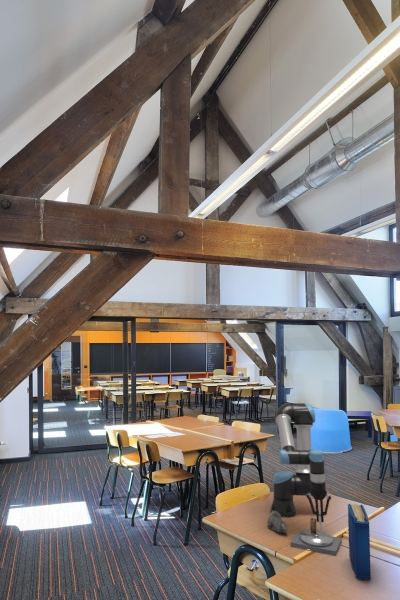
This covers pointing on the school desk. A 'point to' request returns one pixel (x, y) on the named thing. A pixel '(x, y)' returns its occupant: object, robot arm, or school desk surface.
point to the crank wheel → (316, 536)
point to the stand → (329, 549)
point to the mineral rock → (277, 522)
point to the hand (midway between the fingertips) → (320, 528)
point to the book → (359, 541)
